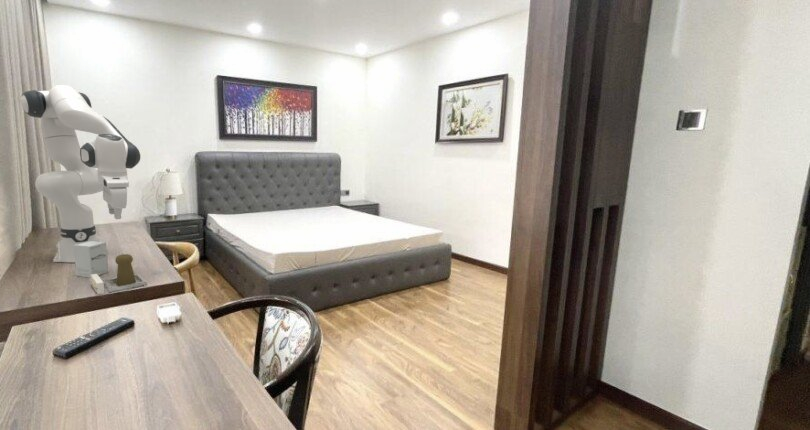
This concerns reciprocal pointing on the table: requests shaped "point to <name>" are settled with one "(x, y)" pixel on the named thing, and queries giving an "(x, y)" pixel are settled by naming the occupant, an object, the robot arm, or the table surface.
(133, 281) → the cork
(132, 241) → the table surface
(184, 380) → the table surface
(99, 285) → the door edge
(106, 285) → the grey square tray
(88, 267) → the supplement box
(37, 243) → the table surface
